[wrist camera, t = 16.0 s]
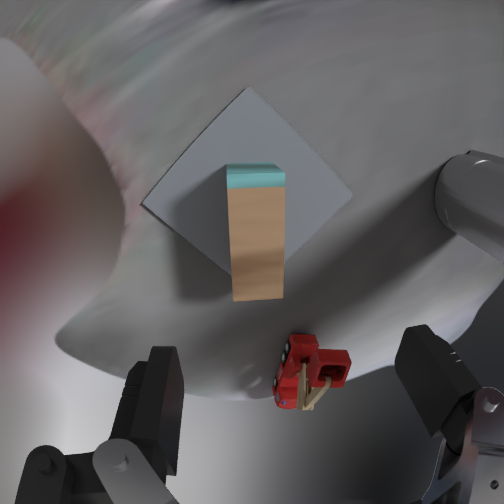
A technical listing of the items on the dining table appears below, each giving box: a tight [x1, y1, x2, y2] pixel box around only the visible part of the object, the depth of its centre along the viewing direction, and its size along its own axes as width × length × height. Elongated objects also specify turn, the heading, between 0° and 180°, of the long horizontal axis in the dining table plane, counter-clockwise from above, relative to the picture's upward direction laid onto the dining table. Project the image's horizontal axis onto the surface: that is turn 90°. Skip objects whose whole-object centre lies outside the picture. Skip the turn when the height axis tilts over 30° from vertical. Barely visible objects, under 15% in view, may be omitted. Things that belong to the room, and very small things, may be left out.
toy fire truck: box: [272, 334, 351, 410], centre depth 31 cm, size 3×14×10 cm, turn 169°
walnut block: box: [226, 162, 285, 301], centre depth 25 cm, size 6×4×10 cm
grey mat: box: [143, 86, 354, 276], centre depth 27 cm, size 14×14×1 cm
